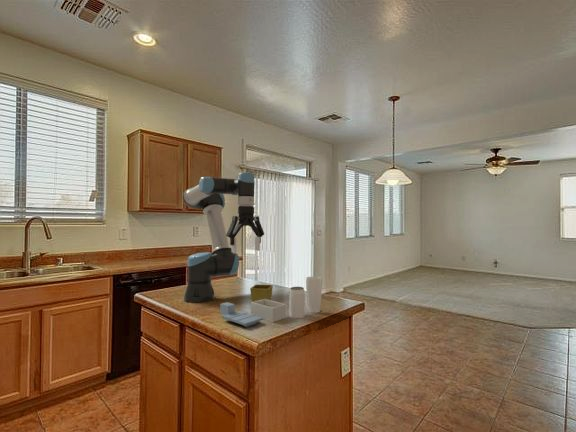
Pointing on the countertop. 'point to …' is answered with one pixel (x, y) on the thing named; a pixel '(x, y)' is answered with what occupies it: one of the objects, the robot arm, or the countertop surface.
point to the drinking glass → (314, 293)
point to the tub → (268, 310)
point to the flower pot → (261, 292)
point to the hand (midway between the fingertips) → (246, 251)
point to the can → (297, 302)
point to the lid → (238, 315)
